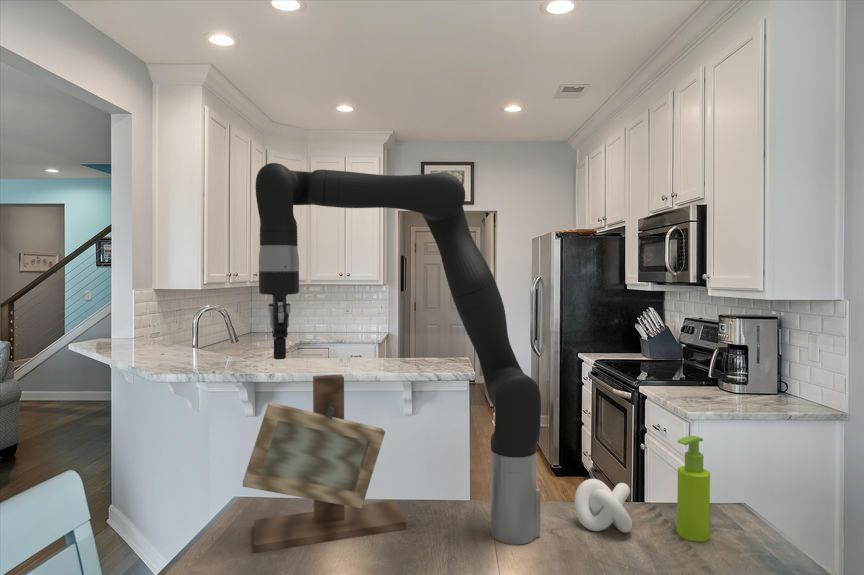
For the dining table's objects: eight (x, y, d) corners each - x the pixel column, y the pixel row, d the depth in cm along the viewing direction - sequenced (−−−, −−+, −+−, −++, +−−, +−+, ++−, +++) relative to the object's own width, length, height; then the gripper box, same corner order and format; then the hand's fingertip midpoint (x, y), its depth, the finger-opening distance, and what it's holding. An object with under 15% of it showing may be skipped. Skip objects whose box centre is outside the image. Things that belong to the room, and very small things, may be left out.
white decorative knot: (650, 537, 108) (651, 493, 108) (598, 545, 105) (599, 500, 105) (616, 513, 119) (616, 473, 119) (568, 519, 116) (568, 478, 115)
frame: (359, 503, 112) (385, 419, 113) (361, 508, 109) (388, 422, 111) (242, 481, 104) (271, 392, 105) (242, 486, 102) (272, 394, 103)
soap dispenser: (667, 532, 110) (668, 435, 109) (689, 525, 113) (691, 431, 113) (692, 545, 105) (694, 444, 104) (715, 537, 108) (717, 439, 107)
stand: (393, 506, 122) (392, 368, 121) (406, 528, 111) (406, 377, 111) (253, 526, 112) (252, 376, 111) (254, 552, 102) (252, 387, 101)
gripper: (302, 269, 99) (302, 363, 99) (296, 269, 112) (296, 352, 112) (259, 269, 97) (260, 365, 97) (258, 269, 109) (259, 354, 110)
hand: (279, 358), depth 105 cm, fingers closed
